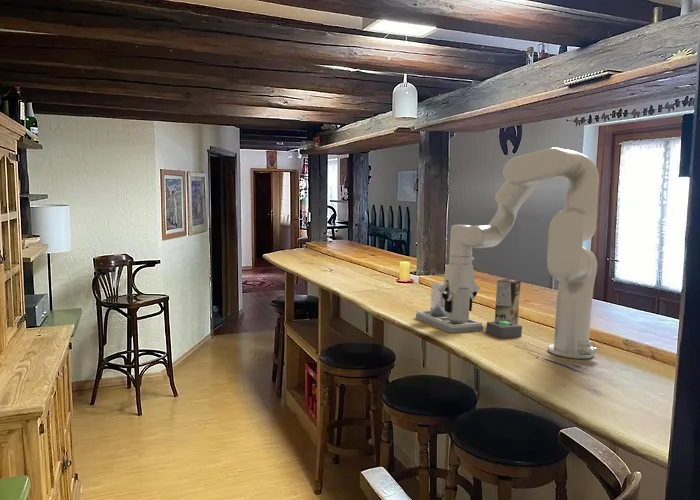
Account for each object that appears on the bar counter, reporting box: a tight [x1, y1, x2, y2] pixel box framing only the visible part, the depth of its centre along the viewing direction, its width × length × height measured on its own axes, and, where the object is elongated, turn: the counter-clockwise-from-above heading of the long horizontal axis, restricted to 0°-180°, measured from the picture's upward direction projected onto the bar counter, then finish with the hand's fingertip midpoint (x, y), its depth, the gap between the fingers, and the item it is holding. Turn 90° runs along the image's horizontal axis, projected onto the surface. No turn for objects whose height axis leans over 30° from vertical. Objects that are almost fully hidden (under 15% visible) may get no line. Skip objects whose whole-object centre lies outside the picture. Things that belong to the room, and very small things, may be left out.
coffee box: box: [494, 278, 522, 325], centre depth 193 cm, size 9×6×16 cm
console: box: [485, 320, 523, 339], centre depth 178 cm, size 8×8×4 cm
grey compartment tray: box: [415, 309, 484, 334], centre depth 191 cm, size 23×13×3 cm, turn 23°
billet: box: [430, 281, 447, 317], centre depth 195 cm, size 7×7×12 cm
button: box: [499, 321, 510, 326], centre depth 178 cm, size 3×3×3 cm
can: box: [447, 288, 470, 323], centre depth 185 cm, size 8×8×12 cm
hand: (458, 310), depth 185 cm, fingers open, 7 cm apart
